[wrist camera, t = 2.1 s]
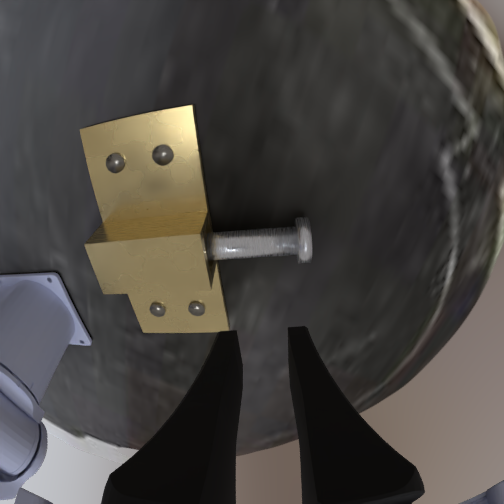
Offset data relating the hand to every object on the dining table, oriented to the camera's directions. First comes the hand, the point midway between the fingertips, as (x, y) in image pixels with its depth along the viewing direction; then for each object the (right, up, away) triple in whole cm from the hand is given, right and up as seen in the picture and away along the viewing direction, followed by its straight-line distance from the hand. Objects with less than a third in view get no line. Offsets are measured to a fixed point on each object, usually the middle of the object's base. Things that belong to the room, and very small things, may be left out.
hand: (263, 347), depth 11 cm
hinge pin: (-1, +5, +8) cm, 9 cm away
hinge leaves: (-6, +4, +8) cm, 11 cm away
